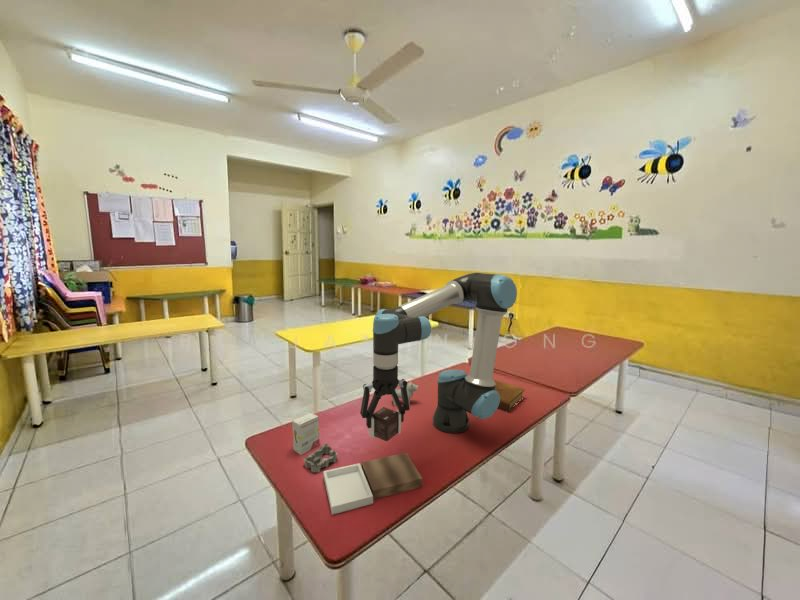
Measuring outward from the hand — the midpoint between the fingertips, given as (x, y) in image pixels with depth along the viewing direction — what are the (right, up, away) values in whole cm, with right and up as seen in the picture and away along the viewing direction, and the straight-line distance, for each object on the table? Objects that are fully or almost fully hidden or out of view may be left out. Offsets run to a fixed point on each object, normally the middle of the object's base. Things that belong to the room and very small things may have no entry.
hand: (385, 433), depth 107 cm
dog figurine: (+6, -7, +55) cm, 56 cm away
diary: (+51, -7, +62) cm, 80 cm away
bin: (-12, -17, -2) cm, 20 cm away
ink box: (-30, -13, +20) cm, 38 cm away
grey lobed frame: (-23, -15, +11) cm, 29 cm away
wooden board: (+2, -16, +4) cm, 16 cm away
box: (0, -1, 0) cm, 0 cm away
